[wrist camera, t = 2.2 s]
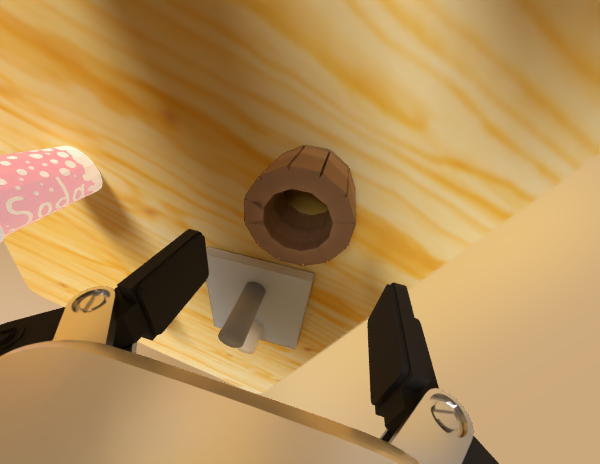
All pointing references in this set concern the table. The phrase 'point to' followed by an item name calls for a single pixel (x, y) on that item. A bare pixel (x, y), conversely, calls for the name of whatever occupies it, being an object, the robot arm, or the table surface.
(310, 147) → the ring
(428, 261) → the table surface
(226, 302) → the post board
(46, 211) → the beverage cup
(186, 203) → the table surface
